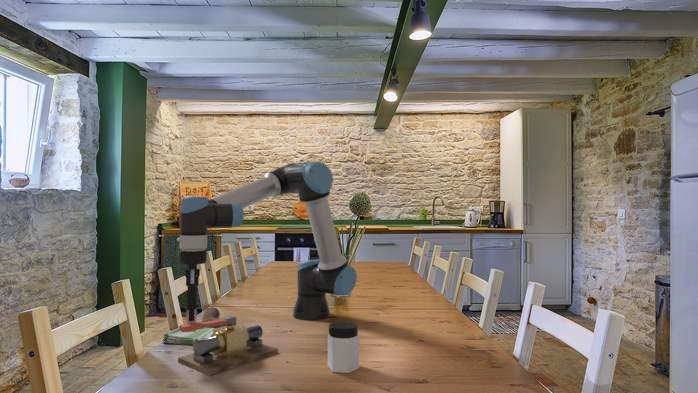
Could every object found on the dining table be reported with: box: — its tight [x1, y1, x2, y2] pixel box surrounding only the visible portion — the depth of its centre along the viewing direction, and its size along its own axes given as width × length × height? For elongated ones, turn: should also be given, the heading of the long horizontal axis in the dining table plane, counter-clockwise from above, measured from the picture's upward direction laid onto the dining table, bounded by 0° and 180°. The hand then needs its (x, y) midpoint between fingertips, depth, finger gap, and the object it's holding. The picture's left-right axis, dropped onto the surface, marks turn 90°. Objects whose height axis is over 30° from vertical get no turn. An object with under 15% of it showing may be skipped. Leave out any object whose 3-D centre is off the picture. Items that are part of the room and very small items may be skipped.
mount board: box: [177, 343, 279, 376], centre depth 131 cm, size 24×16×1 cm, turn 142°
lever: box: [179, 315, 237, 332], centre depth 127 cm, size 16×4×2 cm, turn 130°
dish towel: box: [162, 326, 216, 346], centre depth 151 cm, size 17×23×4 cm
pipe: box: [201, 306, 237, 328], centre depth 165 cm, size 6×17×10 cm
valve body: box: [192, 324, 264, 365], centre depth 131 cm, size 22×7×9 cm, turn 142°
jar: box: [327, 321, 360, 374], centre depth 123 cm, size 9×8×12 cm
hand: (191, 331), depth 126 cm, fingers closed
